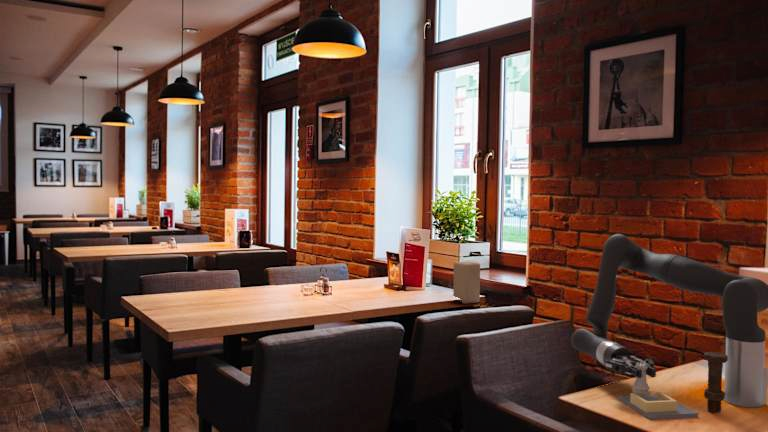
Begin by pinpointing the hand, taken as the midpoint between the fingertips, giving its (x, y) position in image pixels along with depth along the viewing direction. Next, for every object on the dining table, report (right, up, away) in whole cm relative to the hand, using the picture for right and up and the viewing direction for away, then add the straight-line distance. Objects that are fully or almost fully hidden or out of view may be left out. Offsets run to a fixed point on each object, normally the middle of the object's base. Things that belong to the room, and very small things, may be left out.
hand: (647, 373), depth 170 cm
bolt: (+16, -9, -3) cm, 18 cm away
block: (-27, -2, +158) cm, 161 cm away
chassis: (+2, -9, -1) cm, 9 cm away
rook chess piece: (-1, -6, +3) cm, 7 cm away
